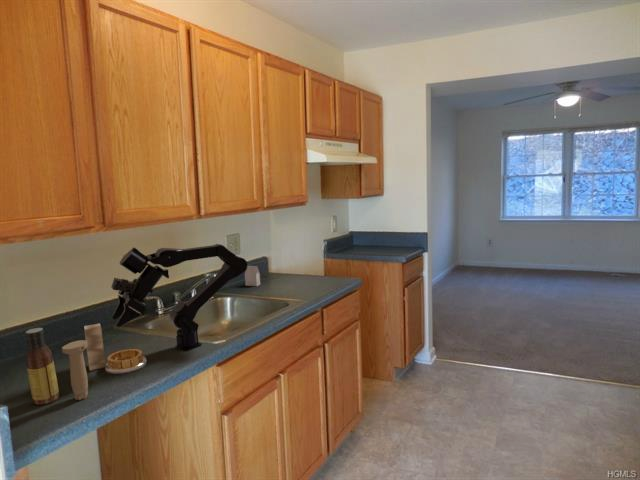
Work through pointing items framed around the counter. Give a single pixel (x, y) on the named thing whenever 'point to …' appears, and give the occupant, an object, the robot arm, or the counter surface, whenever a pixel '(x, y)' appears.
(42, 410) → the counter surface
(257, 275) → the small carton
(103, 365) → the post
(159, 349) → the counter surface
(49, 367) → the sauce bottle
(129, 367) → the segmented gold bowl
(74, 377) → the handle
